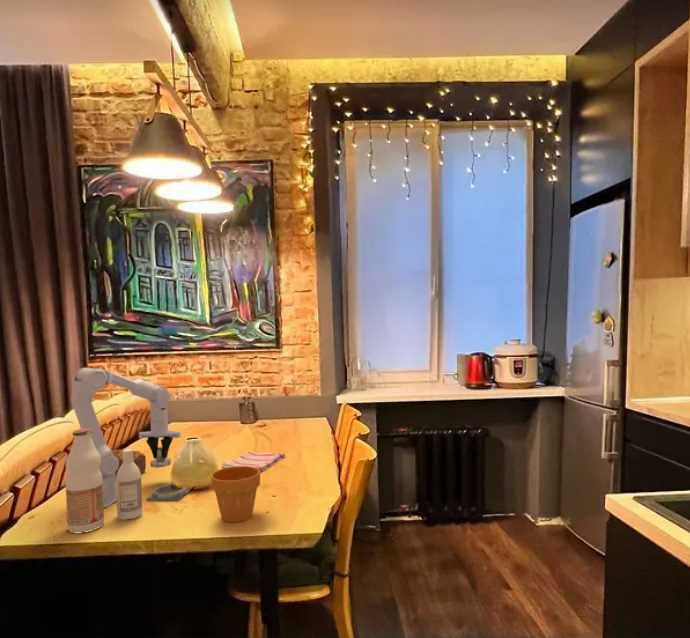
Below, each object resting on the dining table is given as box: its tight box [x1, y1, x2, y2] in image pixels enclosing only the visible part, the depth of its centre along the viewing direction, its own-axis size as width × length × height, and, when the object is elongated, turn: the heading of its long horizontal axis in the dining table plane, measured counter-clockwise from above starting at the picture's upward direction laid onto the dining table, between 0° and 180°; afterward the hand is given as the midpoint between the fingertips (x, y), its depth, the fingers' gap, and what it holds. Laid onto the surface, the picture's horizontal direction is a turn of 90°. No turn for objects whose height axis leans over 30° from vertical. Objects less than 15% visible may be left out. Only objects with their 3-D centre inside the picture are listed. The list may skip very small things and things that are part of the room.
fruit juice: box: [65, 428, 105, 532], centre depth 148 cm, size 9×9×28 cm
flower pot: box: [210, 466, 261, 523], centre depth 153 cm, size 14×14×13 cm
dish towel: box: [221, 451, 286, 474], centre depth 207 cm, size 17×23×4 cm
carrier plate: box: [145, 480, 191, 502], centre depth 175 cm, size 15×11×4 cm
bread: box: [111, 448, 147, 476], centre depth 196 cm, size 19×11×10 cm, turn 86°
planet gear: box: [150, 446, 172, 469], centre depth 185 cm, size 7×7×6 cm
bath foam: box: [116, 448, 143, 520], centre depth 155 cm, size 7×7×20 cm
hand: (160, 457), depth 185 cm, fingers closed on planet gear, 3 cm apart
